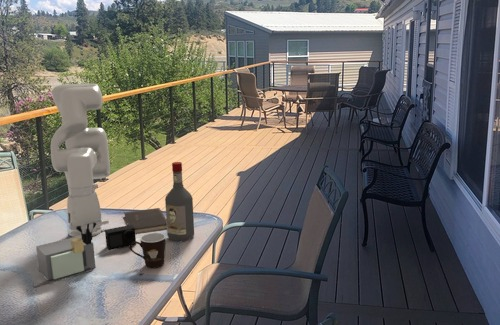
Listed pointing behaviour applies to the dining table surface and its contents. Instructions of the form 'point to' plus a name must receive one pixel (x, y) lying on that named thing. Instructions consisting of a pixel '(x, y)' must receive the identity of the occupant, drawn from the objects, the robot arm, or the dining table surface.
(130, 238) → the digital camera
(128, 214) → the hardcover book
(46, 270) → the box
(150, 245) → the coffee mug
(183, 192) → the liquor
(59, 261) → the side door
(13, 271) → the dining table surface
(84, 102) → the robot arm
